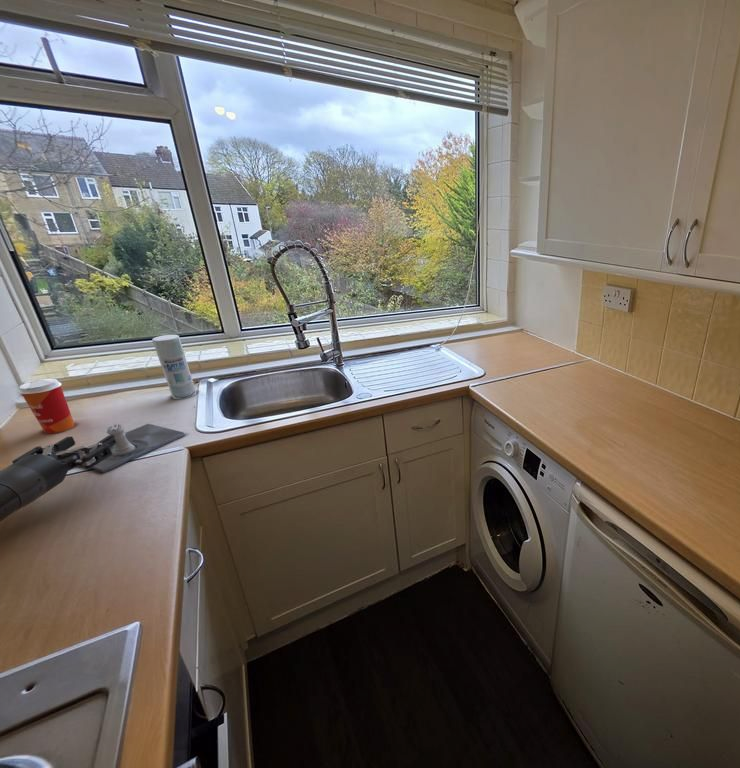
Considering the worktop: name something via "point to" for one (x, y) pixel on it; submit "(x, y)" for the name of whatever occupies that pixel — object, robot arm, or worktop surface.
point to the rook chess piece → (120, 440)
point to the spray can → (174, 366)
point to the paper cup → (48, 404)
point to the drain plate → (138, 445)
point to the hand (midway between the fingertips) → (93, 439)
